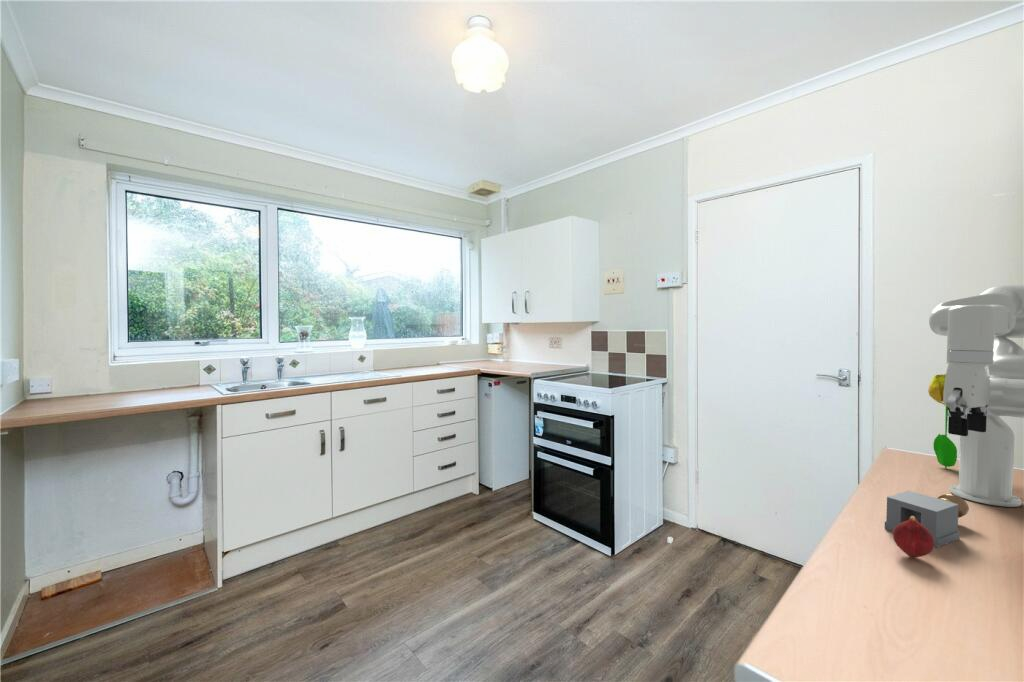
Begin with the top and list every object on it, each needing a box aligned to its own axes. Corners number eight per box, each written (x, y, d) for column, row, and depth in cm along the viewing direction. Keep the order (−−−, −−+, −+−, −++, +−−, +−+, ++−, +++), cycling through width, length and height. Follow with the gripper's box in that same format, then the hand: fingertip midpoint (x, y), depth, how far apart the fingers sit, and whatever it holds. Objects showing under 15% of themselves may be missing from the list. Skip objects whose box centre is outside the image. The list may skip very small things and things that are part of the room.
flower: (936, 463, 142) (938, 372, 141) (969, 470, 135) (973, 374, 134) (921, 466, 139) (924, 373, 138) (955, 474, 131) (958, 375, 130)
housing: (906, 521, 99) (907, 490, 99) (959, 538, 91) (960, 504, 91) (884, 528, 96) (885, 496, 95) (937, 547, 87) (938, 512, 87)
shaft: (939, 511, 101) (939, 490, 101) (968, 520, 97) (969, 498, 97) (910, 521, 96) (911, 499, 96) (939, 531, 92) (940, 507, 92)
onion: (941, 567, 80) (943, 524, 80) (905, 564, 81) (906, 522, 81) (919, 551, 86) (920, 511, 86) (885, 548, 87) (886, 509, 87)
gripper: (965, 356, 107) (963, 426, 108) (929, 358, 100) (927, 433, 101) (1009, 358, 100) (1007, 432, 101) (974, 360, 93) (971, 440, 94)
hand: (967, 432), depth 101 cm, fingers open, 8 cm apart
